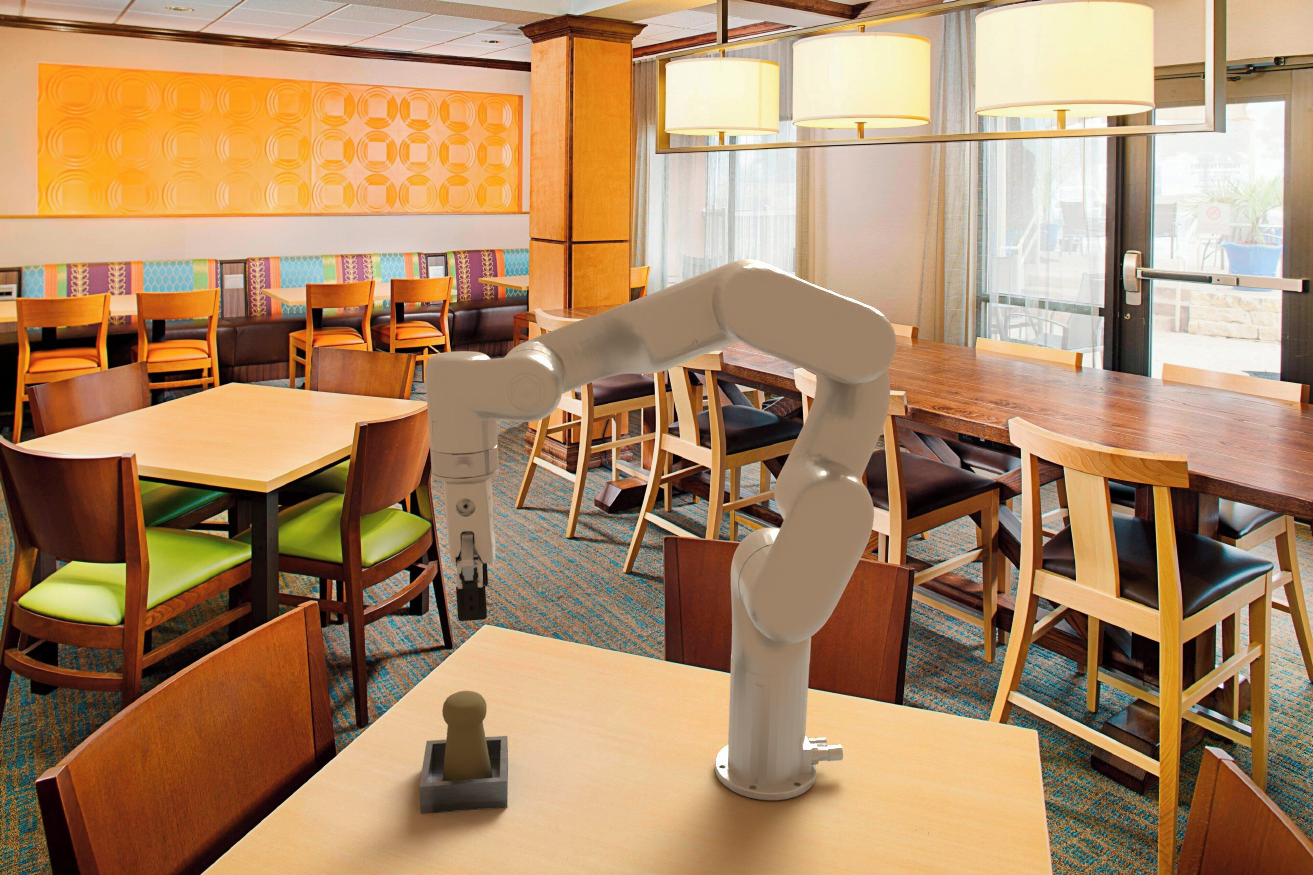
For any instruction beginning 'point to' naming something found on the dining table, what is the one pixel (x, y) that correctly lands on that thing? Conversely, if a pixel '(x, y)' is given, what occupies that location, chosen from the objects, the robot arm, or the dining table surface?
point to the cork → (465, 737)
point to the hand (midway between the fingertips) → (473, 602)
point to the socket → (463, 781)
